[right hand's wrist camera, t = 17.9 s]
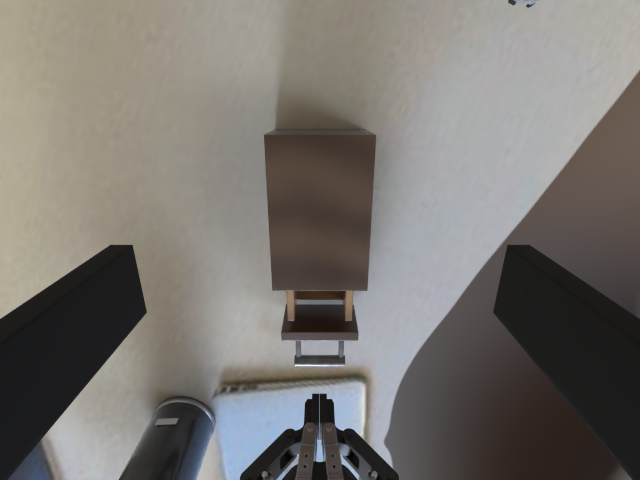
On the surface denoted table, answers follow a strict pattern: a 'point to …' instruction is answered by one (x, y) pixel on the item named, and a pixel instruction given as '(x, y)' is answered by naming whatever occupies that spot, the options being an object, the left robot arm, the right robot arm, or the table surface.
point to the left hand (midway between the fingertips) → (319, 400)
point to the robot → (523, 2)
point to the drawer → (319, 324)
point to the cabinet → (319, 207)
